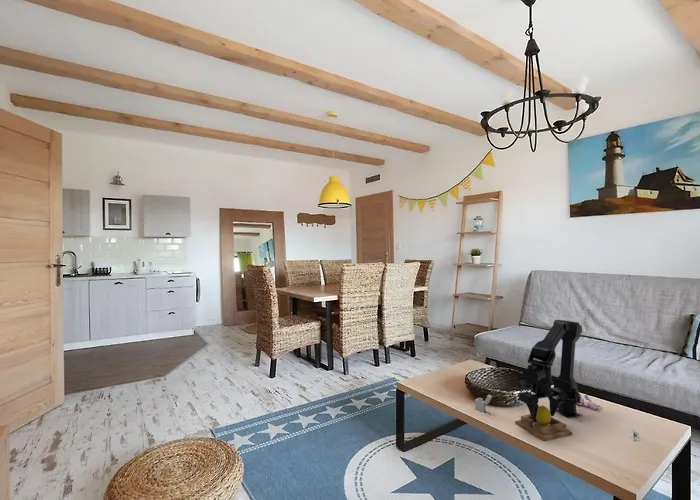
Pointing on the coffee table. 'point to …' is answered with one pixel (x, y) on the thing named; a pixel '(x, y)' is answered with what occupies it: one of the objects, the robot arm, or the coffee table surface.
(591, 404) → the unicorn toy
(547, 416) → the lemon
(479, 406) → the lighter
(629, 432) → the car cutout
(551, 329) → the robot arm
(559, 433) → the tray
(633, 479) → the coffee table surface
